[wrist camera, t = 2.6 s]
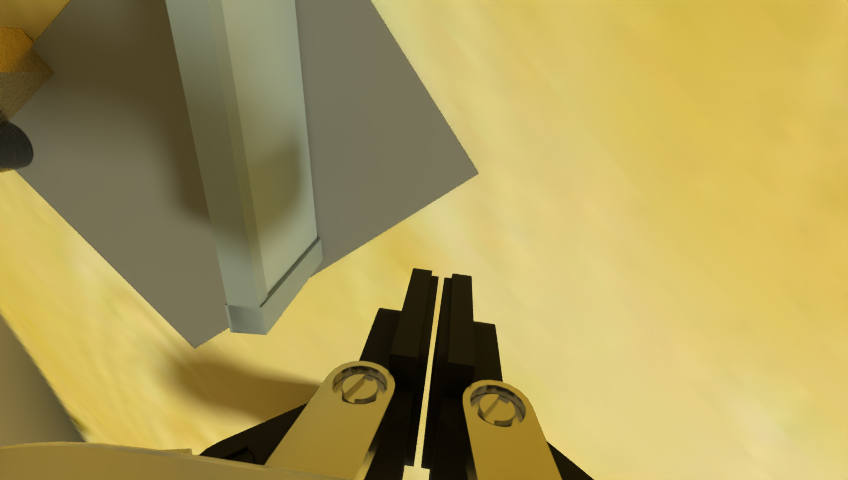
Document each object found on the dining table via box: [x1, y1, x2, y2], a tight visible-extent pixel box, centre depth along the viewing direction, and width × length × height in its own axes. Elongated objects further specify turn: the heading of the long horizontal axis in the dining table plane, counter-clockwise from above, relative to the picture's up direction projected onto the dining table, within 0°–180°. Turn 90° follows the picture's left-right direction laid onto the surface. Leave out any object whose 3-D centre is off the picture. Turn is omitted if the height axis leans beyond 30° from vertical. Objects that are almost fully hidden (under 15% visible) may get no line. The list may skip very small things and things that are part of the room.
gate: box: [165, 0, 323, 335], centre depth 15 cm, size 14×1×6 cm, turn 179°
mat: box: [9, 0, 478, 349], centre depth 19 cm, size 20×16×1 cm
